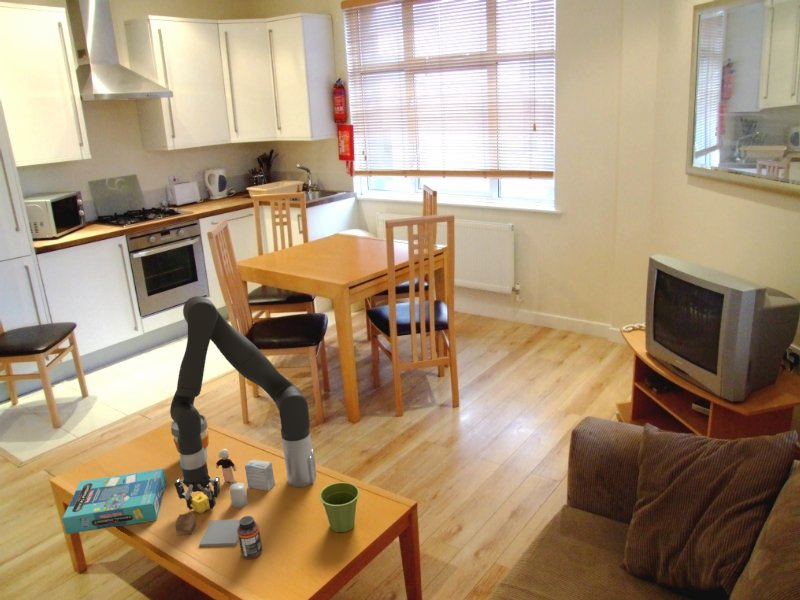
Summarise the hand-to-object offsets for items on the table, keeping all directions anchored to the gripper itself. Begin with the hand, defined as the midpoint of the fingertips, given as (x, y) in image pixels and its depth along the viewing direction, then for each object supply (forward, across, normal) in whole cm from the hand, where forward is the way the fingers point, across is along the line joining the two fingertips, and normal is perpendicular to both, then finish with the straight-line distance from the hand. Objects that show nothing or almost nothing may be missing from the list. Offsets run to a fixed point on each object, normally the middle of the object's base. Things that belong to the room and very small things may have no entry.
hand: (201, 507), depth 212 cm
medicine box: (+1, -16, -12) cm, 20 cm away
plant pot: (+1, -46, +10) cm, 47 cm away
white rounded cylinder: (+1, -11, -3) cm, 12 cm away
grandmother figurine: (+1, -4, -15) cm, 16 cm away
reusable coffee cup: (+1, +13, -31) cm, 34 cm away
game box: (-2, +15, -5) cm, 16 cm away
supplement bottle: (+1, -21, +21) cm, 30 cm away
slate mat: (+1, -10, +12) cm, 16 cm away
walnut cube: (+1, +2, +10) cm, 10 cm away
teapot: (+1, 0, 0) cm, 1 cm away
